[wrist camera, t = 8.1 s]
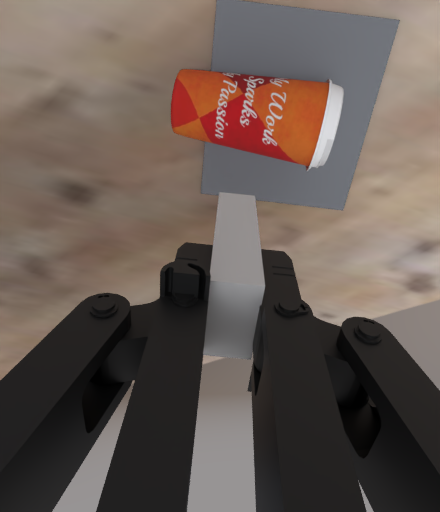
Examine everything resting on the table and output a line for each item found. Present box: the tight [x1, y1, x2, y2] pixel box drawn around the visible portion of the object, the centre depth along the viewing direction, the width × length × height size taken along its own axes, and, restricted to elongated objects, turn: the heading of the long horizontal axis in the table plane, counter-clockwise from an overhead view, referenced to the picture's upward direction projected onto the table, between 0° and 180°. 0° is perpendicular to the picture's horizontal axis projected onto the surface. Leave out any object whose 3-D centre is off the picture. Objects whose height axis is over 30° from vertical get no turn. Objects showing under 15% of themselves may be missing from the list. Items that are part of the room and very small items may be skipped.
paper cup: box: [171, 69, 344, 171], centre depth 33 cm, size 8×8×14 cm
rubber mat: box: [201, 0, 400, 210], centre depth 37 cm, size 16×18×1 cm
